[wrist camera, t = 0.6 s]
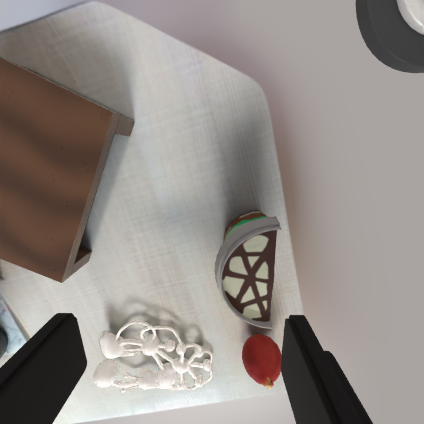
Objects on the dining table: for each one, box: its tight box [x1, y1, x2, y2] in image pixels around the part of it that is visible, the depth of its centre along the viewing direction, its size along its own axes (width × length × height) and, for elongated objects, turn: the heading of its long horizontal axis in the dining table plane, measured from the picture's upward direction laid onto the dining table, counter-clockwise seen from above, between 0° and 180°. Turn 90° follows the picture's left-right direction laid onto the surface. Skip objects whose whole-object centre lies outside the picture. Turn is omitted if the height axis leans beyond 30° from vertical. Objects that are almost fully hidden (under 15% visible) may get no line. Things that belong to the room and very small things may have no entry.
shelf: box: [0, 57, 134, 283], centre depth 25 cm, size 22×14×6 cm, turn 155°
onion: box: [242, 334, 282, 388], centre depth 30 cm, size 6×6×8 cm
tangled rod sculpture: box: [94, 320, 213, 393], centre depth 34 cm, size 19×14×4 cm
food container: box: [215, 210, 281, 329], centre depth 25 cm, size 12×6×10 cm, turn 1°
